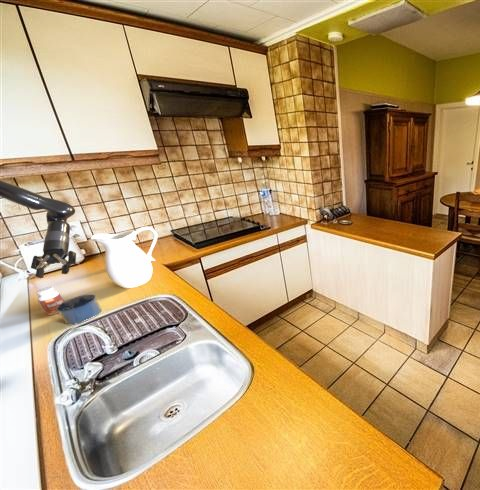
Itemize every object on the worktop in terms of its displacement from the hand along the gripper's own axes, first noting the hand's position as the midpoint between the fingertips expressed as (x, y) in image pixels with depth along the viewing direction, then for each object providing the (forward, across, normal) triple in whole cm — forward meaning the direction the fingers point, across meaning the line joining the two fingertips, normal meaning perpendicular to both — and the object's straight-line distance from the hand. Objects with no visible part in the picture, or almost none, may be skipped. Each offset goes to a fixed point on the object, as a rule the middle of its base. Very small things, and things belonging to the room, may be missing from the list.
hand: (52, 275), depth 117 cm
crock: (+22, +14, -2) cm, 26 cm away
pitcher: (+4, +27, +17) cm, 32 cm away
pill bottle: (+15, 0, +5) cm, 16 cm away
